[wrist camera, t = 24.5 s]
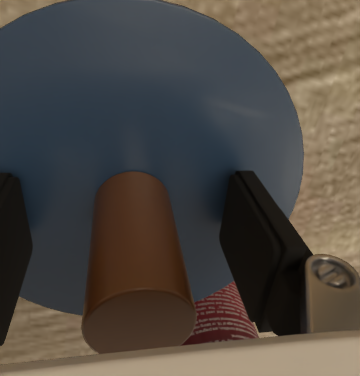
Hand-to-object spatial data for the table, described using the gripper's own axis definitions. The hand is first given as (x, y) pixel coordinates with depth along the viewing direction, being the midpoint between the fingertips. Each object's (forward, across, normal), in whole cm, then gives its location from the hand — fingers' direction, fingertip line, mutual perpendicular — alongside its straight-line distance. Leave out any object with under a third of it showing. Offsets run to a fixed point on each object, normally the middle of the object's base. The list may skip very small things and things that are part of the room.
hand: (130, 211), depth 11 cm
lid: (+1, 0, 0) cm, 1 cm away
